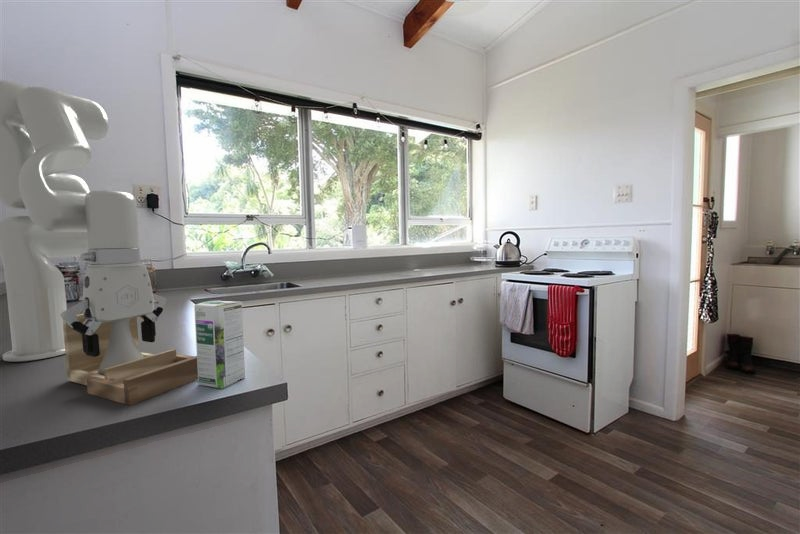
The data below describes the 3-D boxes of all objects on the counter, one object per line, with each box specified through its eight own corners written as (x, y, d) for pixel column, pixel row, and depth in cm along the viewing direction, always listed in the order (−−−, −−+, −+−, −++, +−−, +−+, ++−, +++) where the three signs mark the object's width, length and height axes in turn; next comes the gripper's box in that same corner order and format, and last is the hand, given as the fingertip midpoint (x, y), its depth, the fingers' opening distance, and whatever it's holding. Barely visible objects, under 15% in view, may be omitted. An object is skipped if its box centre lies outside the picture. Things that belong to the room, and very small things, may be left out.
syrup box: (196, 385, 65) (191, 304, 64) (223, 374, 70) (219, 298, 69) (221, 389, 63) (217, 305, 62) (247, 377, 68) (243, 300, 67)
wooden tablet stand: (67, 380, 68) (62, 317, 67) (137, 360, 79) (133, 305, 78) (108, 391, 62) (103, 322, 61) (177, 368, 73) (173, 309, 72)
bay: (87, 393, 62) (85, 370, 62) (174, 364, 76) (173, 345, 76) (130, 405, 57) (128, 380, 57) (215, 372, 71) (214, 352, 71)
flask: (155, 364, 73) (152, 315, 73) (121, 378, 66) (117, 323, 66) (124, 362, 75) (121, 314, 74) (88, 375, 68) (84, 322, 67)
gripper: (69, 261, 59) (78, 365, 61) (173, 256, 75) (178, 338, 76) (45, 261, 63) (54, 359, 64) (150, 256, 78) (156, 335, 80)
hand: (122, 348), depth 70 cm, fingers open, 9 cm apart
